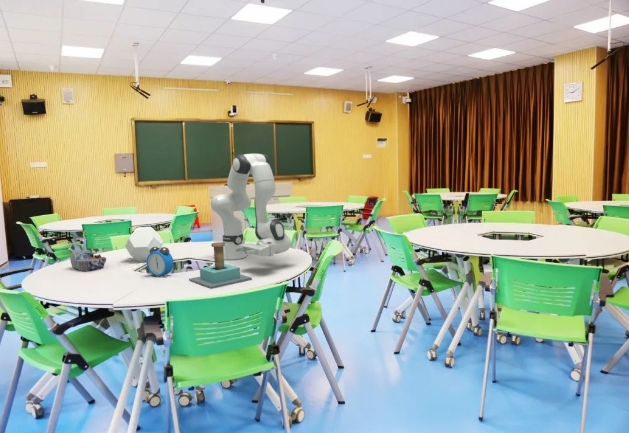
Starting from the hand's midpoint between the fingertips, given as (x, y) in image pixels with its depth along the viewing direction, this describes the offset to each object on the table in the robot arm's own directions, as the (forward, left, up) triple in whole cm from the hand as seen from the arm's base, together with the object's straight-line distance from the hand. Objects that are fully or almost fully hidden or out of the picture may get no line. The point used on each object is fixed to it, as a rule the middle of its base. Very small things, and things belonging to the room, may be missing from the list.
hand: (241, 251), depth 228 cm
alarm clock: (-32, -29, -12) cm, 45 cm away
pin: (+1, -13, -11) cm, 17 cm away
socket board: (+1, -13, -12) cm, 18 cm away
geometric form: (-79, -19, -12) cm, 83 cm away
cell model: (-82, -51, -13) cm, 97 cm away
